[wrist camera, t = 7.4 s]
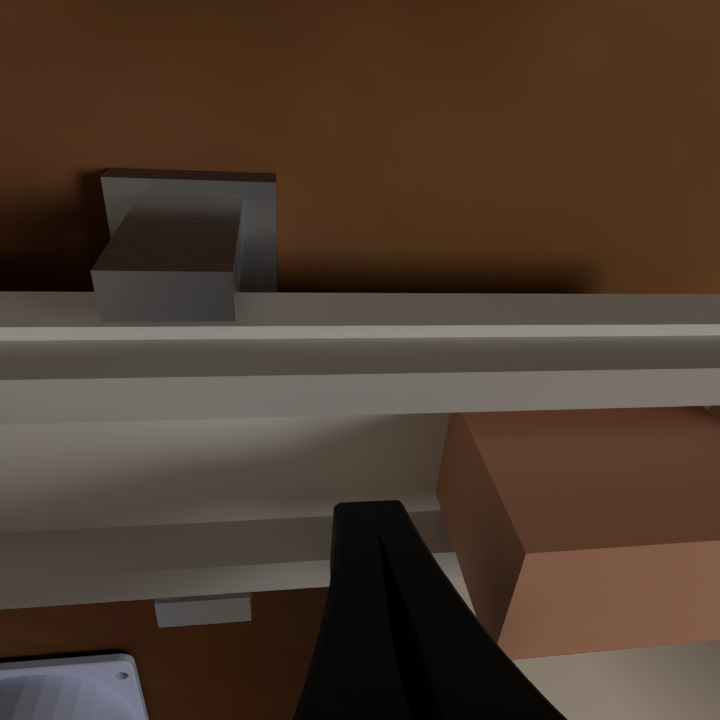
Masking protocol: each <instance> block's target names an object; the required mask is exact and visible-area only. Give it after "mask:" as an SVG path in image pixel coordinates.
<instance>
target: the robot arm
mask: <svg viewBox="0 0 720 720" xmlns="http://www.w3.org/2000/svg"><path fill="white" fill-rule="evenodd" d="M0 720H149V719H148V715H147V710H146V706H145V702H144V698H143V694H142V690H141V685H140V681H139V677H138V673H137V669H136V665H135V661H134V658H133V657H132V656H130V655H129V654H125V653H118V654H106V655H93V656H81V657H68V658H56V659H43V660H31V661H18V662H6V663H0ZM293 720H567V719H566V718H565V717H564V716H563V715H562V714H561V713H560V712H559V711H558V710H557V709H556V708H555V707H554V706H553V705H552V704H551V703H550V702H549V701H548V700H547V699H546V698H545V697H544V696H543V695H542V694H541V693H540V691H538V689H537V688H536V687H535V686H534V685H533V684H532V683H531V682H530V681H529V680H528V679H527V678H526V677H525V675H524V674H523V673H522V672H521V671H520V670H519V669H518V667H517V666H516V665H515V664H514V663H513V662H512V661H511V659H510V658H509V657H508V656H507V655H506V654H505V653H504V651H503V650H502V649H501V648H500V647H499V645H498V644H497V643H496V642H495V641H494V639H493V638H492V637H491V636H490V634H489V633H488V632H487V631H486V629H485V628H484V627H483V625H482V624H481V623H480V622H479V620H478V619H477V618H476V616H475V615H474V614H473V613H472V611H471V610H470V609H469V607H468V606H467V604H466V603H465V602H464V600H463V599H462V598H461V596H460V595H459V594H458V592H457V591H456V589H455V588H454V586H453V585H452V583H451V582H450V580H449V579H448V577H447V576H446V575H445V573H444V572H443V570H442V569H441V567H440V566H439V564H438V563H437V561H436V560H435V558H434V557H433V555H432V553H431V552H430V550H429V549H428V547H427V545H426V544H425V542H424V540H423V539H422V537H421V535H420V534H419V532H418V530H417V529H416V527H415V525H414V523H413V522H412V520H411V518H410V516H409V514H408V513H407V511H406V509H405V507H404V505H403V503H401V502H400V501H399V500H384V501H361V502H340V503H338V504H337V505H336V506H334V511H333V525H332V540H331V555H330V584H329V590H328V596H327V601H326V605H325V609H324V614H323V618H322V622H321V626H320V630H319V635H318V639H317V643H316V646H315V650H314V653H313V657H312V661H311V664H310V667H309V671H308V674H307V677H306V680H305V684H304V687H303V690H302V693H301V696H300V699H299V702H298V705H297V708H296V711H295V714H294V717H293Z"/></svg>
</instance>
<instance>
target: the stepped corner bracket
mask: <svg viewBox="0 0 720 720" xmlns="http://www.w3.org/2000/svg"><path fill="white" fill-rule="evenodd" d="M101 183H102V189H103V195H104V201H105V207H106V213H107V219H108V225H109V231H110V237H111V240H110V241H109V243H108V244H107V246H106V247H105V249H104V251H103V252H102V254H101V255H100V257H99V258H98V260H97V261H96V263H95V264H94V266H93V268H92V269H91V276H92V281H93V286H94V291H95V297H96V302H97V307H98V312H99V317H100V322H235V320H236V311H237V302H238V293H239V292H244V293H277V221H276V174H265V173H236V172H208V171H179V170H150V169H121V168H108V169H107V170H106V172H105V173H104V174H103V175H102V176H101ZM251 604H252V592H241V593H227V594H213V595H198V596H184V597H170V598H156V599H155V610H156V615H157V620H158V625H159V627H173V626H186V625H199V624H213V623H226V622H240V621H251Z"/></svg>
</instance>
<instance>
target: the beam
mask: <svg viewBox="0 0 720 720" xmlns="http://www.w3.org/2000/svg"><path fill="white" fill-rule="evenodd" d="M675 406H704V407H705V408H706V409H707V410H708V411H709V412H710V413H711V414H712V415H713V416H714V417H715V418H716V419H717V420H718V421H719V422H720V294H483V293H244V292H239V293H238V302H237V311H236V320H235V322H100V317H99V312H98V307H97V302H96V297H95V292H5V291H0V609H14V608H28V607H42V606H56V605H71V604H85V603H99V602H113V601H127V600H142V599H156V598H170V597H184V596H198V595H213V594H227V593H241V592H255V591H269V590H283V589H298V588H312V587H326V586H329V584H330V555H331V540H332V525H333V511H334V506H336V505H337V504H338V503H340V502H361V501H384V500H399V501H400V502H401V503H403V505H404V507H405V509H406V511H407V513H408V514H409V516H410V518H411V520H412V522H413V523H414V525H415V527H416V529H417V530H418V532H419V534H420V535H421V537H422V539H423V540H424V542H425V544H426V545H427V547H428V549H429V550H430V552H431V553H432V555H433V557H434V558H435V560H436V561H437V563H438V564H439V566H440V567H441V569H442V570H443V572H444V573H445V575H446V576H447V577H448V578H454V577H463V575H462V572H461V569H460V566H459V562H458V559H457V556H456V553H455V550H454V547H453V544H452V541H451V538H450V535H449V532H448V529H447V526H446V523H445V520H444V517H443V514H442V511H441V508H440V505H439V502H438V499H437V496H436V489H437V483H438V478H439V472H440V467H441V461H442V456H443V450H444V445H445V440H446V434H447V429H448V423H449V418H450V413H454V412H491V411H528V410H565V409H602V408H639V407H675Z"/></svg>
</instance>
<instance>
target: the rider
mask: <svg viewBox="0 0 720 720" xmlns="http://www.w3.org/2000/svg"><path fill="white" fill-rule="evenodd" d="M436 496H437V499H438V502H439V505H440V508H441V511H442V514H443V517H444V520H445V523H446V526H447V529H448V532H449V535H450V538H451V541H452V544H453V547H454V550H455V553H456V556H457V559H458V562H459V566H460V569H461V572H462V575H463V578H464V581H465V584H466V587H467V590H468V593H469V596H470V598H471V602H472V605H473V608H474V610H475V613H476V617H477V619H478V620H479V622H480V623H481V624H482V625H483V627H484V628H485V629H486V631H487V632H488V633H489V634H490V636H491V637H492V638H493V639H494V641H495V642H496V643H497V644H498V645H499V647H500V648H501V649H502V650H503V651H504V653H505V654H506V655H507V656H508V657H509V658H510V659H511V660H516V659H526V658H537V657H547V656H558V655H568V654H578V653H589V652H600V651H610V650H620V649H631V648H641V647H652V646H662V645H672V644H683V643H692V642H693V643H694V642H704V641H714V640H720V422H719V421H718V420H717V419H716V418H715V417H714V416H713V415H712V414H711V413H710V412H709V411H708V410H707V409H706V408H705V407H704V406H675V407H639V408H602V409H565V410H528V411H491V412H454V413H450V418H449V423H448V429H447V434H446V440H445V445H444V450H443V456H442V461H441V467H440V472H439V478H438V483H437V489H436Z"/></svg>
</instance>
